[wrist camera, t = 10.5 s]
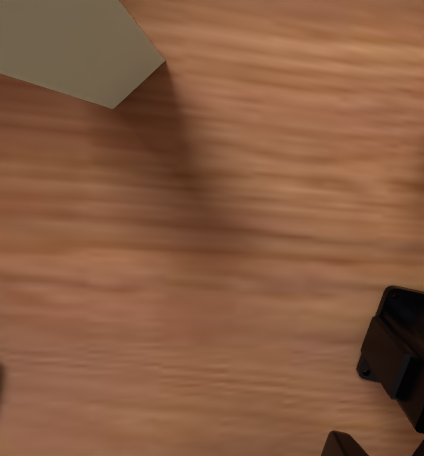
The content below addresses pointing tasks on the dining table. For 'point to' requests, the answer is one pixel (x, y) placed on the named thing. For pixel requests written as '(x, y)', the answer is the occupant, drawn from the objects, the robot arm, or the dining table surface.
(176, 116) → the dining table surface
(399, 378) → the robot arm
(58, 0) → the green post
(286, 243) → the dining table surface
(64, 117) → the dining table surface
